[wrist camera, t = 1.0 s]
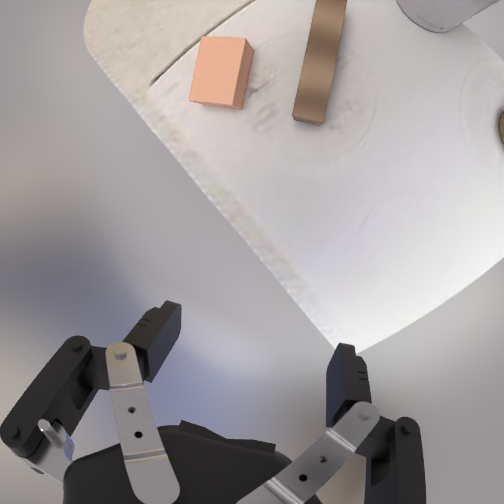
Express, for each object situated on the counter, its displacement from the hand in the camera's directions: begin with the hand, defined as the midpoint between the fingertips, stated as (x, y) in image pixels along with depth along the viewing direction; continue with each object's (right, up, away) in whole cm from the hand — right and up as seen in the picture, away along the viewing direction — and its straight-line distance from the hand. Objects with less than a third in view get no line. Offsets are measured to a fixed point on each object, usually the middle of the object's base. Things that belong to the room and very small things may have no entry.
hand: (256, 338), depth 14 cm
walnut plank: (+8, +26, +14) cm, 31 cm away
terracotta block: (-3, +26, +17) cm, 31 cm away
